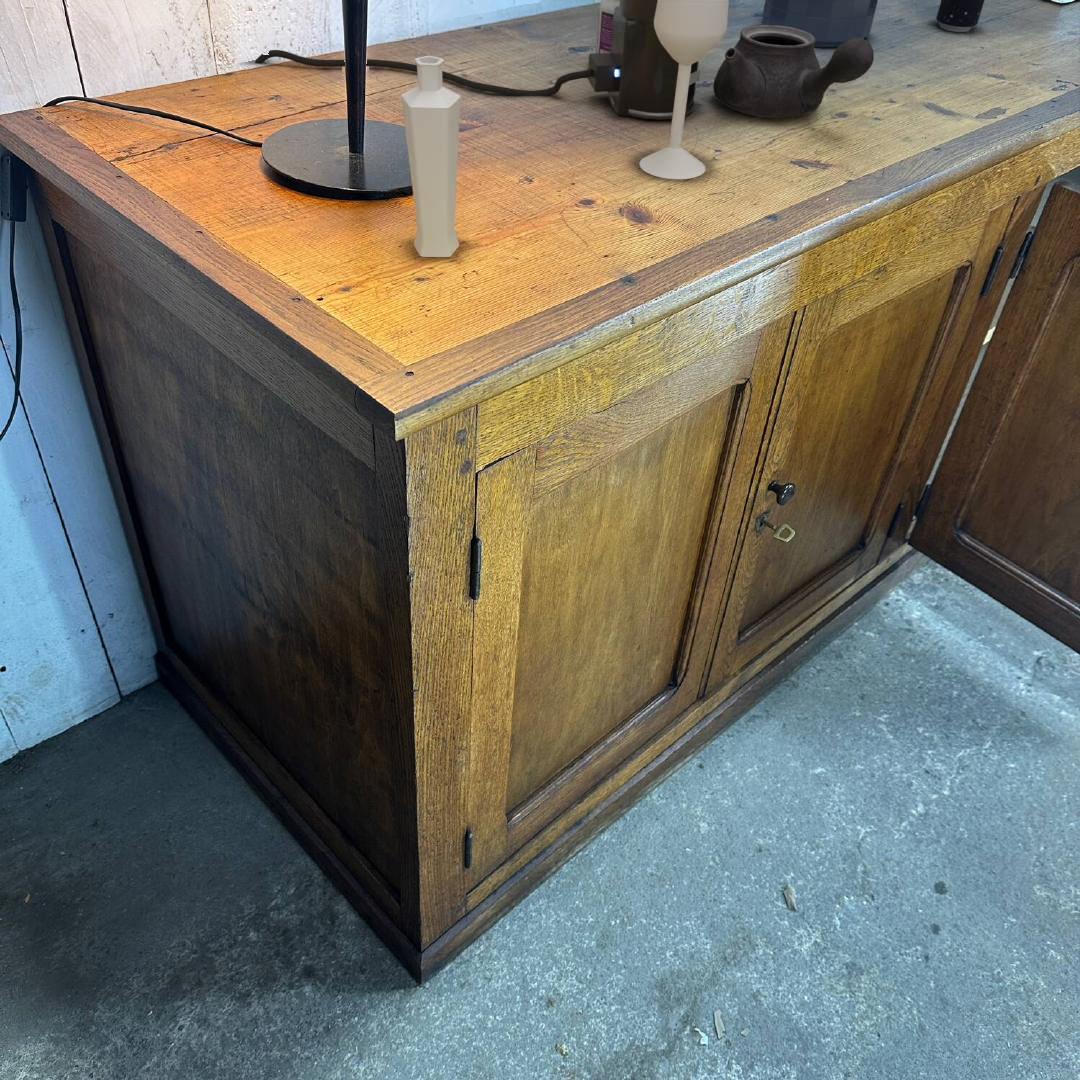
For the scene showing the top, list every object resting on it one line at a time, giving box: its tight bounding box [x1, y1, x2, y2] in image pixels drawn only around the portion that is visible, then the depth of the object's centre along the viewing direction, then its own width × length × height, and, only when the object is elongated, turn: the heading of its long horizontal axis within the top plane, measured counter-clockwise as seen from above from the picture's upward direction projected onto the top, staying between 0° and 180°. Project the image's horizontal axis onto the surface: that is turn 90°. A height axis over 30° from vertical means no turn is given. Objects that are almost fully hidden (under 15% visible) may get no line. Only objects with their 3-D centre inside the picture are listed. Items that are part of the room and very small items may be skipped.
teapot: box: [713, 24, 875, 119], centre depth 108 cm, size 19×15×10 cm
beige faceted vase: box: [400, 55, 462, 258], centre depth 79 cm, size 5×4×15 cm
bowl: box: [760, 0, 879, 48], centre depth 134 cm, size 15×15×6 cm
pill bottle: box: [595, 0, 620, 53], centre depth 119 cm, size 5×5×10 cm
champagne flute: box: [638, 0, 730, 180], centre depth 91 cm, size 7×7×24 cm
